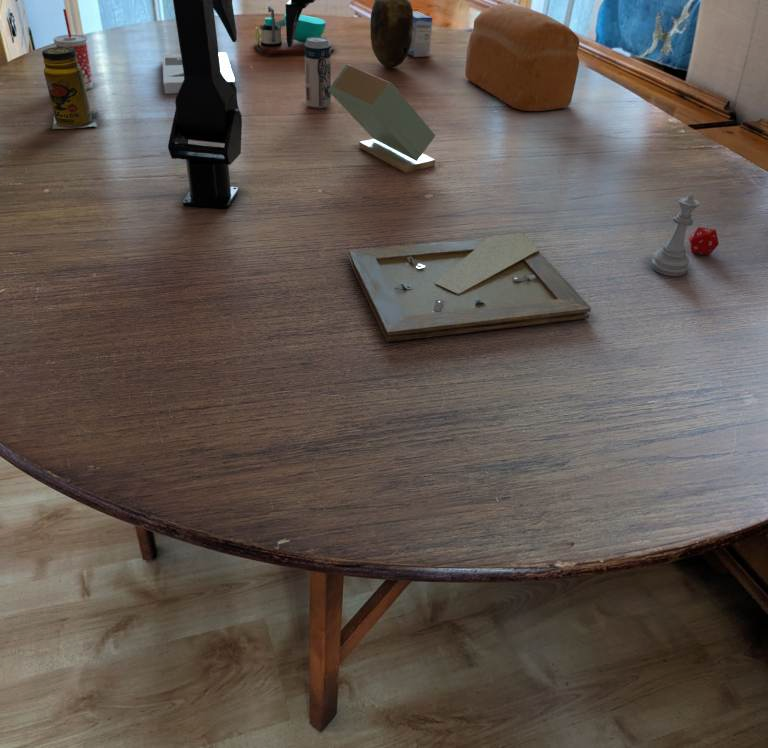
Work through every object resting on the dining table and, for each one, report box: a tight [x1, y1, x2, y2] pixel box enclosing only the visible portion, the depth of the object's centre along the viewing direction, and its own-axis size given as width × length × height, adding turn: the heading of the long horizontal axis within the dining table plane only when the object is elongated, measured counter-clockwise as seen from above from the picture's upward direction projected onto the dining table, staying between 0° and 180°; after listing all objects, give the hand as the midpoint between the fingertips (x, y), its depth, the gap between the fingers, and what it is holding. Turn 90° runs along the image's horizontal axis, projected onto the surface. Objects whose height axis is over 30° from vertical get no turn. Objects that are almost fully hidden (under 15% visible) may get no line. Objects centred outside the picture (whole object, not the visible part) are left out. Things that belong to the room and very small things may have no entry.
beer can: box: [304, 36, 332, 110], centre depth 137 cm, size 5×5×12 cm
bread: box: [464, 3, 580, 112], centre depth 148 cm, size 14×26×16 cm, turn 20°
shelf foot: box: [358, 138, 436, 174], centre depth 120 cm, size 6×13×1 cm, turn 36°
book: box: [161, 51, 237, 95], centre depth 152 cm, size 23×14×2 cm, turn 14°
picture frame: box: [348, 232, 592, 343], centre depth 86 cm, size 19×2×24 cm
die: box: [688, 226, 720, 256], centre depth 96 cm, size 4×3×4 cm
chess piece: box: [650, 193, 700, 277], centre depth 90 cm, size 4×4×10 cm
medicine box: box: [407, 10, 433, 58], centre depth 174 cm, size 8×4×9 cm, turn 25°
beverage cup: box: [53, 8, 94, 90], centre depth 140 cm, size 6×6×14 cm
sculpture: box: [369, 0, 414, 69], centre depth 159 cm, size 13×8×20 cm, turn 15°
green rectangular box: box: [328, 63, 436, 161], centre depth 114 cm, size 5×12×13 cm
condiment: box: [41, 46, 98, 130], centre depth 124 cm, size 7×8×12 cm
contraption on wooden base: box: [253, 6, 335, 58], centre depth 171 cm, size 14×18×15 cm
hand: (262, 43), depth 116 cm, fingers open, 9 cm apart
